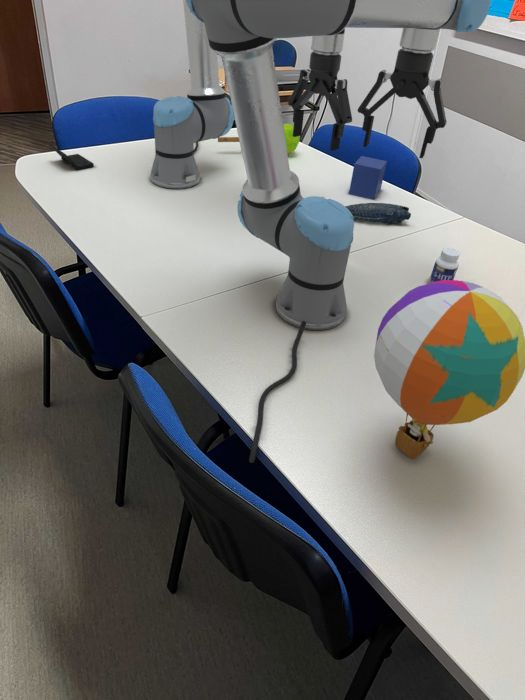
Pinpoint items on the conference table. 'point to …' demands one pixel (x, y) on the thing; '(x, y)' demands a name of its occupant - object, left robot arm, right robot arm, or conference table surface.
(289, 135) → the decorative tree
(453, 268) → the pill bottle
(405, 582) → the conference table surface
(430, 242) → the conference table surface
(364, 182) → the block
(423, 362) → the toy
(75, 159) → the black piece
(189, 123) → the left robot arm
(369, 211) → the fish model
